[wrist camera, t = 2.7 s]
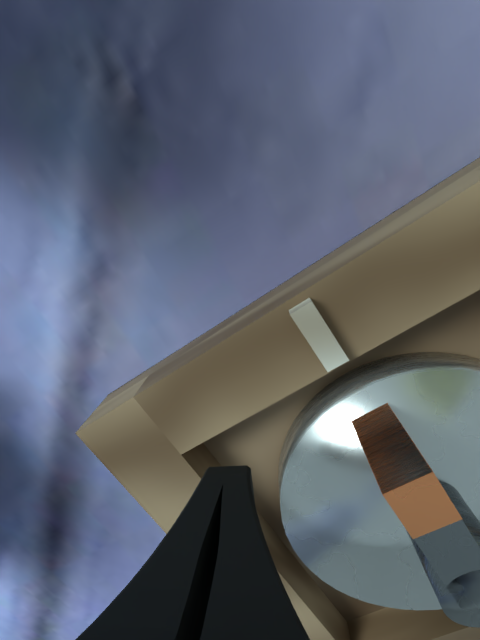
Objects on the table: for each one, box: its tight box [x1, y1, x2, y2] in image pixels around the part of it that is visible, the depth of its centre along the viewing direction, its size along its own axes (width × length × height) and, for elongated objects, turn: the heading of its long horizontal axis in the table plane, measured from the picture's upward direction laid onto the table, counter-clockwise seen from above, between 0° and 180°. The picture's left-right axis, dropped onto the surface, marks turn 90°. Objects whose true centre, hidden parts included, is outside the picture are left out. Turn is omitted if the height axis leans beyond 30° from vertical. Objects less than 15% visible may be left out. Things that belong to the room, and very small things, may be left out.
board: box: [76, 158, 480, 640], centre depth 14 cm, size 20×20×4 cm
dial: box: [278, 352, 480, 628], centre depth 12 cm, size 12×12×5 cm
